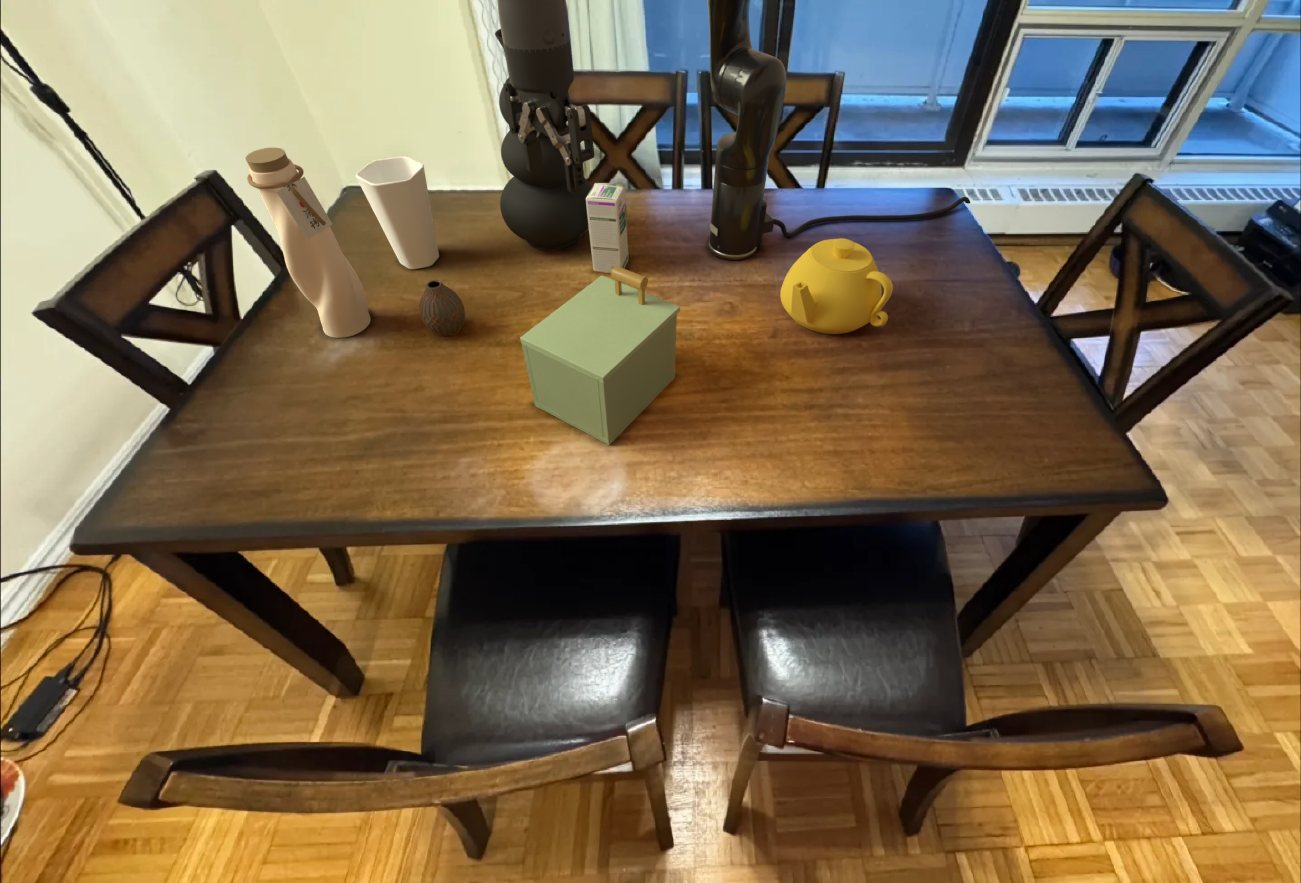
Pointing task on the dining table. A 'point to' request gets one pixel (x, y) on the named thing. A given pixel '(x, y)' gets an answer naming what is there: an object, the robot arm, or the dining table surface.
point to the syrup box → (608, 226)
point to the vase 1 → (441, 309)
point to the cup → (402, 208)
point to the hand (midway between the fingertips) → (555, 180)
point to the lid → (602, 324)
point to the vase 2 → (540, 192)
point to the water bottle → (309, 243)
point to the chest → (603, 386)
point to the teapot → (836, 288)
